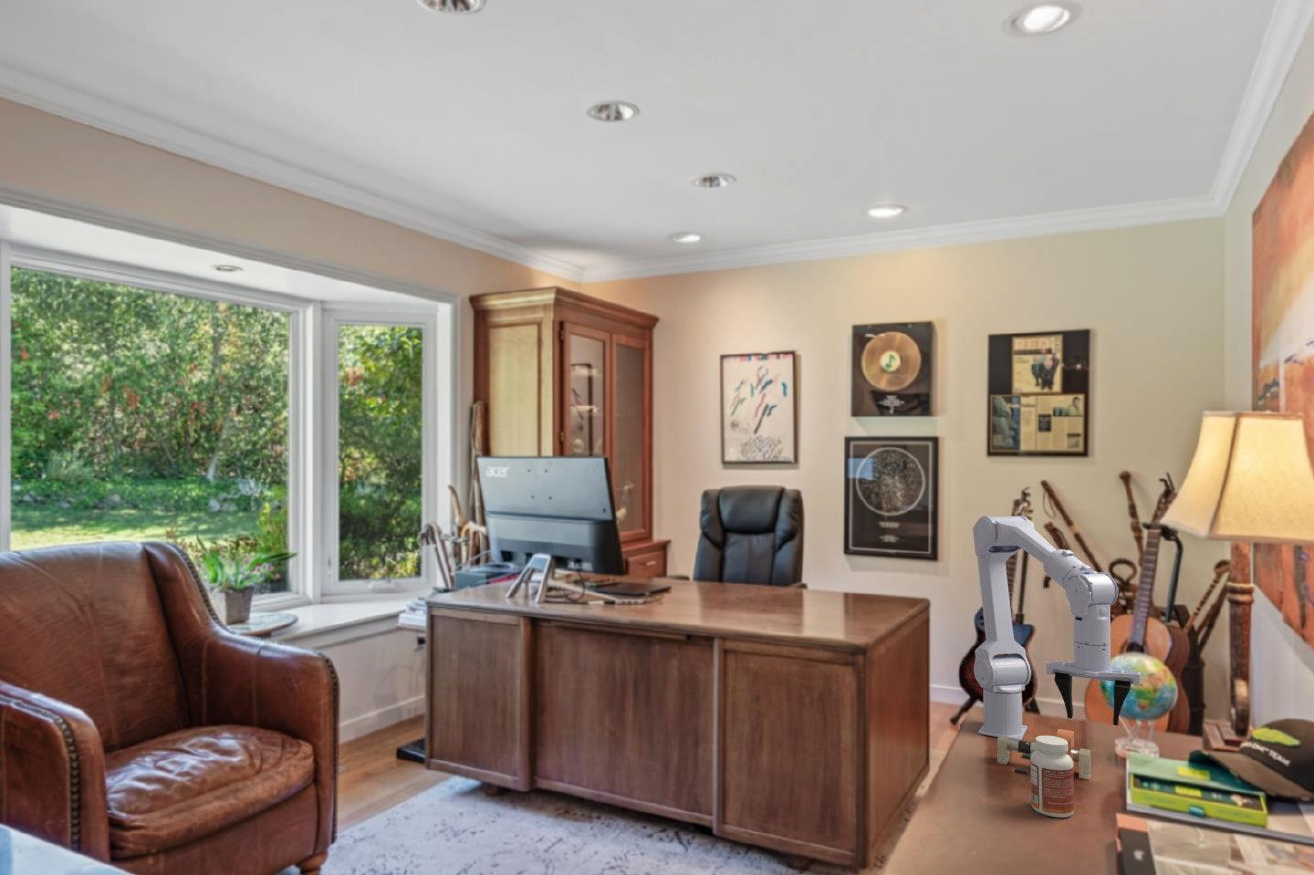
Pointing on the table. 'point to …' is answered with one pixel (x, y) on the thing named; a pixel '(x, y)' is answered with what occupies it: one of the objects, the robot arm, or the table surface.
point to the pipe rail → (1028, 748)
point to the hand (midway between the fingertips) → (1092, 720)
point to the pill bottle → (1052, 777)
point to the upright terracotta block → (1069, 738)
